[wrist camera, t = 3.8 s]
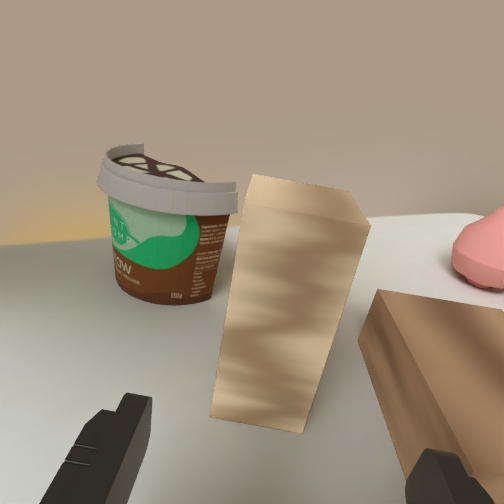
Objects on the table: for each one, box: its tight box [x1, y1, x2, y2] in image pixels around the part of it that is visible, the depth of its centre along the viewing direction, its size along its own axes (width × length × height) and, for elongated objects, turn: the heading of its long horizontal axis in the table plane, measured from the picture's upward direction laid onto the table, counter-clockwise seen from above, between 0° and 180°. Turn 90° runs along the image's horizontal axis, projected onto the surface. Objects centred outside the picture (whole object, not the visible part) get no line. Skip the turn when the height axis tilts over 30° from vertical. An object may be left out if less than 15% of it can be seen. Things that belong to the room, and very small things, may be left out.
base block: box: [358, 289, 504, 504], centre depth 20 cm, size 9×13×5 cm
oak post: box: [210, 174, 371, 433], centre depth 19 cm, size 5×5×12 cm
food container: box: [97, 144, 238, 305], centre depth 27 cm, size 12×6×10 cm, turn 47°
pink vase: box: [451, 205, 504, 289], centre depth 38 cm, size 8×8×12 cm
